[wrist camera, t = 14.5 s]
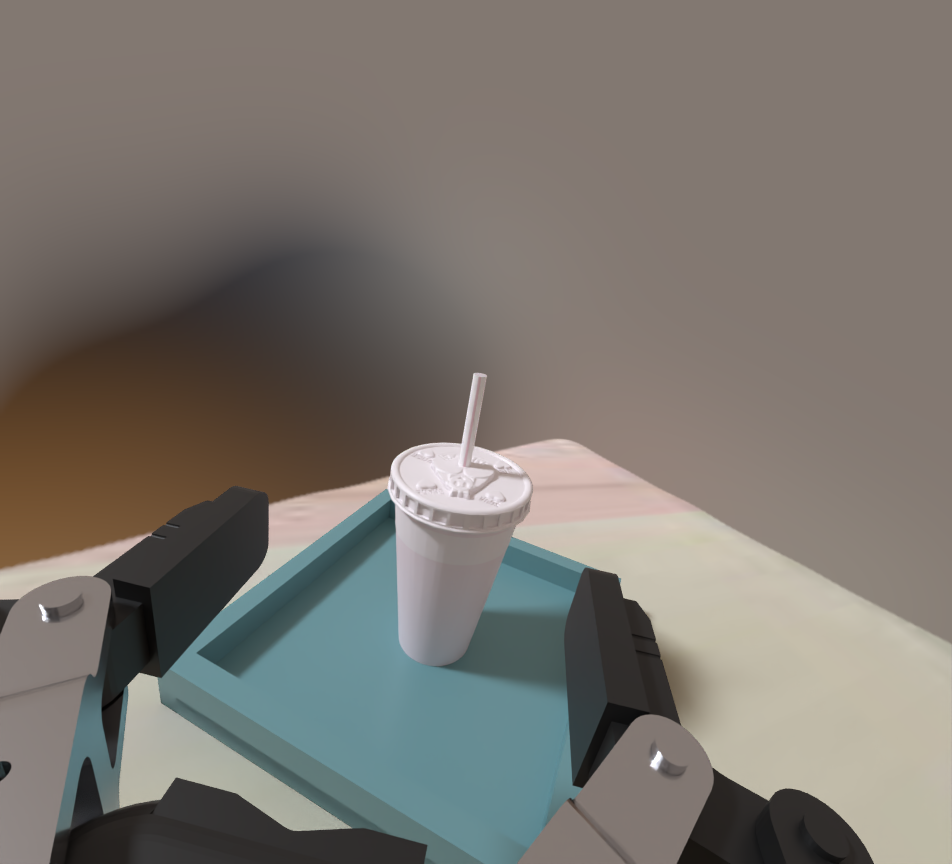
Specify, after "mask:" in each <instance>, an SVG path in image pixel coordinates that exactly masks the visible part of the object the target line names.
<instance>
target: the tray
mask: <svg viewBox="0 0 952 864" xmlns="http://www.w3.org/2000/svg"><path fill="white" fill-rule="evenodd" d="M586 567H587V568H591V569H594V568H592V567H589V566H587V565H584V564H581V563H579V562H576V561H574V560H571V559H568V558H566V557H563V556H560V555H558V554H555V553H553V552H550V551H547V550H545V549H542V548H540V547H537V546H534V545H532V544H529V543H526V542H524V541H521V540H519V539H516V538H513V537H512V538H511V540H510V543H509V546H508V547H507V550H506V552H505V555H504V557H503V560H502V563H501V565H500V568H499V570H498V573H497V575H496V578H495V580H494V583H493V585H492V588H491V590H490V593H489V595H488V598H487V600H486V603H485V606H484V608H483V611H482V613H481V616H480V618H479V621H478V623H477V626H476V628H475V631H474V633H473V636H472V638H471V641H470V644H469V646H468V649H467V651H466V652H465V654H464V655H463V656H462V657H461V658H460V659H459V660H457V661H455V662H454V663H451V664H448V665H444V666H428V665H424V664H421V663H419V662H417V661H415V660H413V659H412V658H410V657H409V656H408V655H407V654H406V653H405V652H404V650H403V649H402V647H401V645H400V642H399V633H398V594H397V555H396V525H395V503H394V502H393V501H392V500H391V497H390V494H389V491H388V489H386V490H384V491H383V492H382V493H380V494H379V495H378V496H376V497H375V498H374V499H372V500H371V501H370V502H368V503H367V504H365V505H364V506H363V507H361V508H360V509H359V510H357V511H356V512H355V513H353V514H352V515H351V516H349V517H348V518H347V519H345V520H344V521H343V522H341V523H340V524H338V525H337V526H336V527H334V528H333V529H332V530H330V531H329V532H328V533H326V534H325V535H324V536H322V537H321V538H320V539H318V540H317V541H316V542H314V543H313V544H311V545H310V546H309V547H307V548H306V549H305V550H303V551H302V552H301V553H299V554H298V555H297V556H295V557H294V558H293V559H291V560H290V561H288V562H287V563H286V564H284V565H283V566H282V567H280V568H279V569H278V570H276V571H275V572H274V573H272V574H271V575H270V576H268V577H267V578H266V579H264V580H263V581H261V582H260V583H259V584H257V585H256V586H255V587H253V588H252V589H251V590H249V591H248V592H247V593H245V594H244V595H243V596H241V597H240V598H239V599H237V600H236V601H234V602H233V603H232V604H230V605H229V606H228V607H226V608H225V609H224V610H222V611H221V612H220V613H219V614H218V615H217V616H216V617H215V618H214V619H213V620H212V621H211V623H210V624H209V625H208V626H207V627H206V628H205V629H204V631H203V632H202V633H201V634H200V635H199V636H198V637H197V638H196V640H195V641H194V642H193V643H192V644H191V645H190V646H189V648H188V649H187V650H186V651H185V652H184V653H183V654H182V655H181V657H180V658H179V659H178V660H177V661H176V662H175V663H174V665H173V666H172V667H171V668H170V669H169V670H168V671H167V672H166V674H165V675H164V676H163V677H162V678H159V677H158V684H159V691H160V698H161V703H162V704H164V705H166V706H167V707H169V708H170V709H172V710H173V711H175V712H176V713H178V714H179V715H181V716H182V717H184V718H185V719H187V720H188V721H190V722H192V723H193V724H195V725H196V726H198V727H199V728H201V729H202V730H204V731H205V732H207V733H208V734H210V735H211V736H213V737H214V738H216V739H218V740H219V741H221V742H222V743H224V744H225V745H227V746H228V747H230V748H231V749H233V750H234V751H236V752H237V753H239V754H240V755H242V756H244V757H245V758H247V759H248V760H250V761H251V762H253V763H254V764H256V765H257V766H259V767H260V768H262V769H263V770H265V771H266V772H268V773H270V774H271V775H273V776H274V777H276V778H277V779H279V780H280V781H282V782H283V783H285V784H286V785H288V786H289V787H291V788H292V789H294V790H296V791H297V792H299V793H300V794H302V795H303V796H305V797H306V798H308V799H309V800H311V801H312V802H314V803H315V804H317V805H318V806H320V807H322V808H323V809H325V810H326V811H328V812H329V813H331V814H332V815H334V816H335V817H337V818H338V819H340V820H341V821H343V822H344V823H346V824H348V825H349V826H351V827H352V828H366V829H370V830H374V831H378V832H381V833H385V834H389V835H393V836H396V837H400V838H404V839H408V840H411V841H415V842H419V843H422V844H426V845H428V846H427V851H426V856H425V861H424V864H517V863H518V861H519V860H520V859H521V857H522V856H523V855H524V854H525V852H526V851H527V850H528V848H529V847H530V846H531V844H532V843H533V842H534V841H535V839H536V838H537V837H538V835H539V834H540V833H541V831H542V830H543V829H544V828H545V826H546V825H547V824H548V822H549V821H550V820H551V818H552V817H553V816H554V815H555V813H556V812H557V811H558V809H559V808H560V807H561V806H562V805H563V804H564V802H565V801H566V800H568V799H569V798H572V799H574V798H575V797H576V796H577V795H578V794H579V793H580V791H581V790H582V789H583V788H580V787H576V786H572V769H571V751H570V734H569V717H568V700H567V682H566V665H565V648H564V633H565V625H566V620H567V616H568V613H569V610H570V607H571V604H572V601H573V598H574V595H575V592H576V589H577V586H578V583H579V580H580V577H581V574H582V572H583V570H584V568H586ZM595 570H597V569H595ZM619 582H621V578H619Z"/></svg>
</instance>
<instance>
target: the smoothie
mask: <svg viewBox="0 0 952 864" xmlns="http://www.w3.org/2000/svg"><path fill="white" fill-rule="evenodd" d="M486 378H487V376H486V375H485V374H481V373H474V375H473V381H472V387H471V393H470V399H469V405H468V411H467V416H466V422H465V428H464V434H463V440H462V444H457V443H431V444H424V445H419V446H416V447H412V448H410V449H408V450H406V451H404V452H402V453H401V454H399V455H398V456H397V457H396V458H395V459H394V461H393V463H392V466H391V474H390V478H389V482H388V491H389V494H390V497H391V500H392V501H393V502H394V503H395V525H396V555H397V594H398V633H399V642H400V645H401V647H402V649H403V650H404V652H405V653H406V654H407V655H408V656H409V657H410V658H412V659H413V660H415V661H417V662H419V663H421V664H424V665H428V666H444V665H448V664H451V663H454V662H455V661H457V660H459V659H460V658H461V657H462V656H463V655H464V654H465V652H466V651H467V649H468V646H469V644H470V641H471V638H472V636H473V633H474V631H475V628H476V626H477V623H478V621H479V618H480V616H481V613H482V611H483V608H484V606H485V603H486V600H487V598H488V595H489V593H490V590H491V588H492V585H493V583H494V580H495V578H496V575H497V573H498V570H499V568H500V565H501V563H502V560H503V557H504V555H505V552H506V550H507V547H508V546H509V543H510V540H511V538H512V535H513V532H514V530H515V527H516V525H517V524H519V523H521V522H522V521H523V520H524V519H525V517H526V516H527V515H528V513H529V512H530V502H531V501H530V500H531V496H532V493H533V485H532V482H531V479H530V478H529V476H528V475H527V474H526V472H525V471H524V470H523V469H522V468H521V467H520V466H518V465H517V464H516V463H514V462H513V461H511V460H510V459H508V458H506V457H504V456H502V455H500V454H497V453H495V452H492V451H489V450H486V449H483V448H479V447H475V446H474V443H475V438H476V432H477V427H478V422H479V416H480V411H481V405H482V399H483V394H484V389H485V383H486Z"/></svg>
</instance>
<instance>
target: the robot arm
mask: <svg viewBox="0 0 952 864" xmlns="http://www.w3.org/2000/svg"><path fill="white" fill-rule="evenodd" d="M268 525H269V502H268V496H267V494H266V493H265V492H260V491H256V490H251V489H247V488H242V487H238V486H233V487H231V488H229V489H228V490H227V491H226V492H224V493H223V494H222V495H220V496H219V497H218V498H216V499H215V500H214V501H213V502H212V501H205V502H202V503H200V504H197V505H195V506H192V507H190V508H187V509H185V510H183V511H182V512H180V513H179V514H178V515H176V516H175V517H174V518H172V519H171V520H169V521H168V522H167V524H166V525H163V526H161V527H160V528H159V529H157V530H156V531H154V532H153V533H152V535H151V537H150V536H148V537H146V538H145V539H144V540H142V541H141V542H139V543H138V544H137V545H135V546H134V547H133V548H131V549H130V550H129V551H127V552H126V553H124V554H123V555H122V556H120V557H119V558H118V559H116V560H115V561H114V562H112V563H111V564H109V565H108V566H107V567H105V568H104V569H103V570H101V571H100V572H99V573H97V574H96V575H94V576H93V577H92V576H76V577H68V578H63V579H59V580H56V581H52V582H50V583H47V584H44V585H42V586H40V587H38V588H36V589H34V590H32V591H31V592H29V593H27V594H26V595H24V596H23V597H22V598H21V599H17V600H0V864H424V861H425V856H426V851H427V846H428V845H426V844H422V843H419V842H415V841H411V840H408V839H404V838H400V837H396V836H393V835H389V834H385V833H381V832H378V831H374V830H370V829H366V828H353V829H333V830H313V831H292V830H289V829H287V828H285V827H284V826H282V825H281V824H279V823H278V822H276V821H275V820H274V819H272V818H271V817H269V816H268V815H266V814H265V813H264V812H262V811H261V810H259V809H258V808H256V807H255V806H253V805H252V804H251V803H249V802H248V801H246V800H245V799H243V798H242V797H241V796H239V795H238V794H236V793H232V792H228V791H225V790H221V789H217V788H213V787H210V786H206V785H202V784H198V783H195V782H191V781H187V780H184V779H180V778H175V780H174V781H173V783H172V784H171V786H170V787H169V789H168V790H167V792H166V793H165V794H164V796H163V797H162V799H161V800H155V801H150V802H144V803H138V804H134V805H130V806H127V807H123V808H120V805H119V778H120V769H121V759H122V750H123V740H124V731H125V722H126V712H127V703H128V686H127V685H128V684H129V683H130V682H131V681H132V680H133V679H134V678H135V677H136V675H137V674H138V673H143V674H147V675H151V676H155V677H159V678H162V677H163V676H164V675H165V674H166V672H167V671H168V670H169V669H170V668H171V667H172V666H173V665H174V663H175V662H176V661H177V660H178V659H179V658H180V657H181V655H182V654H183V653H184V652H185V651H186V650H187V649H188V648H189V646H190V645H191V644H192V643H193V642H194V641H195V640H196V638H197V637H198V636H199V635H200V634H201V633H202V632H203V631H204V629H205V628H206V627H207V626H208V625H209V624H210V623H211V621H212V620H213V619H214V618H215V617H216V616H217V615H218V614H219V612H220V611H221V610H222V609H223V608H224V607H225V606H226V604H227V603H228V602H229V601H230V600H231V599H232V598H233V597H234V595H235V594H236V593H237V592H238V591H239V590H240V589H241V587H242V586H243V585H244V584H245V583H246V582H247V581H248V580H249V578H250V577H251V576H252V575H253V574H254V573H255V572H256V570H257V569H258V568H259V567H260V565H261V564H262V562H263V560H264V558H265V556H266V553H267V549H268ZM655 641H656V638H655V635H654V632H653V628H652V625H651V621H650V619H649V618H648V616H647V615H646V614H645V612H644V611H643V610H642V608H641V607H640V606H639V604H638V603H637V601H633V600H628V599H624V598H623V595H622V591H621V586H620V582H619V578H618V576H617V575H616V574H613V573H608V572H604V571H600V570H595V569H591V568H587V567H586V568H584V570H583V572H582V574H581V577H580V580H579V583H578V586H577V589H576V592H575V595H574V598H573V601H572V604H571V607H570V610H569V613H568V616H567V620H566V625H565V633H564V648H565V665H566V682H567V700H568V717H569V734H570V751H571V769H572V786H576V787H580V788H583V789H582V790H581V791H580V793H579V794H578V795H577V796H576V797H575V798H574V799H572V798H569V799H568V800H566V801H565V802H564V804H563V805H562V806H561V807H560V808H559V809H558V811H557V812H556V813H555V815H554V816H553V817H552V818H551V820H550V821H549V822H548V824H547V825H546V826H545V828H544V829H543V830H542V831H541V833H540V834H539V835H538V837H537V838H536V839H535V841H534V842H533V843H532V844H531V846H530V847H529V848H528V850H527V851H526V852H525V854H524V855H523V856H522V857H521V859H520V860H519V861H518V863H517V864H874V863H873V861H872V859H871V857H870V855H869V853H868V851H867V849H866V848H865V846H864V844H863V843H862V841H861V840H860V839H859V837H858V836H857V834H856V833H855V832H854V831H853V829H852V828H851V827H850V826H849V825H848V824H847V823H846V822H845V821H844V820H843V819H842V818H841V817H840V816H839V815H838V814H837V813H836V812H835V811H834V810H832V809H831V808H830V807H829V806H827V805H826V804H825V803H823V802H822V801H820V800H819V799H817V798H815V797H813V796H811V795H810V794H808V793H805V792H802V791H800V790H795V789H782V790H779V791H777V792H775V794H774V795H773V796H772V797H771V799H770V800H769V801H768V800H766V799H764V798H762V797H761V796H759V795H757V794H755V793H753V792H752V791H750V790H748V789H746V788H745V787H743V786H741V785H739V784H737V783H736V782H734V781H732V780H730V779H728V778H727V777H725V776H724V775H722V774H720V773H719V772H718V771H716V770H715V769H714V768H712V766H711V763H710V760H709V758H708V756H707V754H706V752H705V751H704V749H703V748H702V746H701V745H700V744H699V742H698V741H697V740H696V739H695V738H694V737H693V735H692V734H690V733H689V732H688V731H687V730H686V729H685V728H683V727H682V726H681V724H680V720H679V717H678V714H677V710H676V707H675V703H674V700H673V696H672V693H671V690H670V686H669V683H668V679H667V676H666V673H665V669H664V666H663V662H662V660H660V656H661V655H660V652H659V649H658V645H657V643H655Z"/></svg>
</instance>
